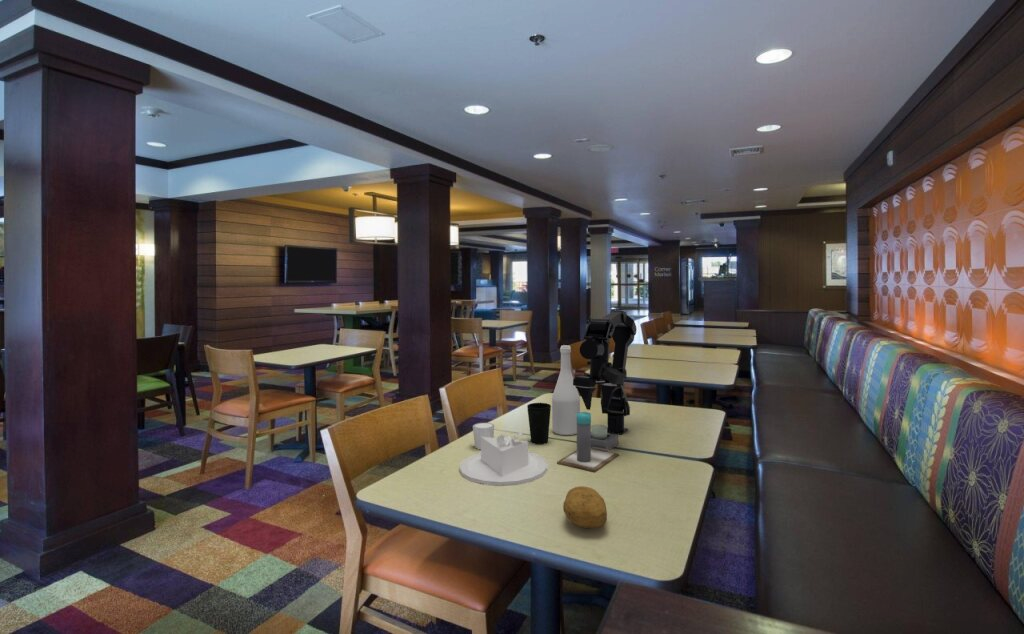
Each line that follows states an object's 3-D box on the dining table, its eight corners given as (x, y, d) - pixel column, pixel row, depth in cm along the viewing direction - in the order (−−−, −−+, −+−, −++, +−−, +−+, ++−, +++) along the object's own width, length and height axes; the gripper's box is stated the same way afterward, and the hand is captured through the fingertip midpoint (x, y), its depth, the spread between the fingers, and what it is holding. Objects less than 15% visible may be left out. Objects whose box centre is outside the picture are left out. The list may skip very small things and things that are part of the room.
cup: (551, 438, 172) (551, 402, 171) (551, 445, 164) (550, 408, 163) (528, 437, 172) (528, 402, 171) (526, 445, 165) (526, 408, 164)
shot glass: (478, 451, 159) (478, 429, 159) (469, 445, 165) (469, 424, 165) (498, 448, 162) (498, 426, 162) (489, 442, 168) (488, 421, 168)
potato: (563, 536, 107) (563, 504, 106) (563, 508, 120) (562, 479, 119) (608, 537, 106) (608, 505, 106) (603, 509, 119) (603, 480, 118)
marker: (585, 456, 151) (585, 411, 150) (593, 460, 148) (593, 414, 147) (573, 459, 149) (573, 413, 148) (582, 463, 146) (582, 416, 145)
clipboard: (583, 448, 161) (583, 444, 161) (619, 455, 154) (619, 451, 154) (557, 463, 148) (557, 459, 148) (594, 472, 141) (594, 467, 141)
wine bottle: (581, 435, 174) (581, 347, 171) (553, 436, 174) (552, 348, 171) (578, 427, 183) (577, 343, 181) (551, 427, 183) (550, 344, 181)
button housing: (592, 439, 170) (592, 430, 169) (618, 444, 164) (618, 435, 164) (579, 446, 162) (579, 437, 162) (606, 452, 157) (606, 442, 157)
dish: (565, 466, 146) (564, 427, 146) (504, 495, 128) (504, 450, 127) (502, 448, 163) (502, 413, 162) (441, 471, 145) (440, 431, 144)
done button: (595, 434, 167) (595, 423, 166) (609, 437, 164) (609, 426, 163) (588, 438, 163) (588, 427, 162) (602, 441, 160) (602, 430, 159)
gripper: (602, 360, 149) (600, 414, 148) (638, 360, 162) (636, 410, 161) (572, 358, 157) (570, 409, 157) (609, 357, 170) (607, 405, 169)
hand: (597, 408), depth 161 cm, fingers open, 9 cm apart
